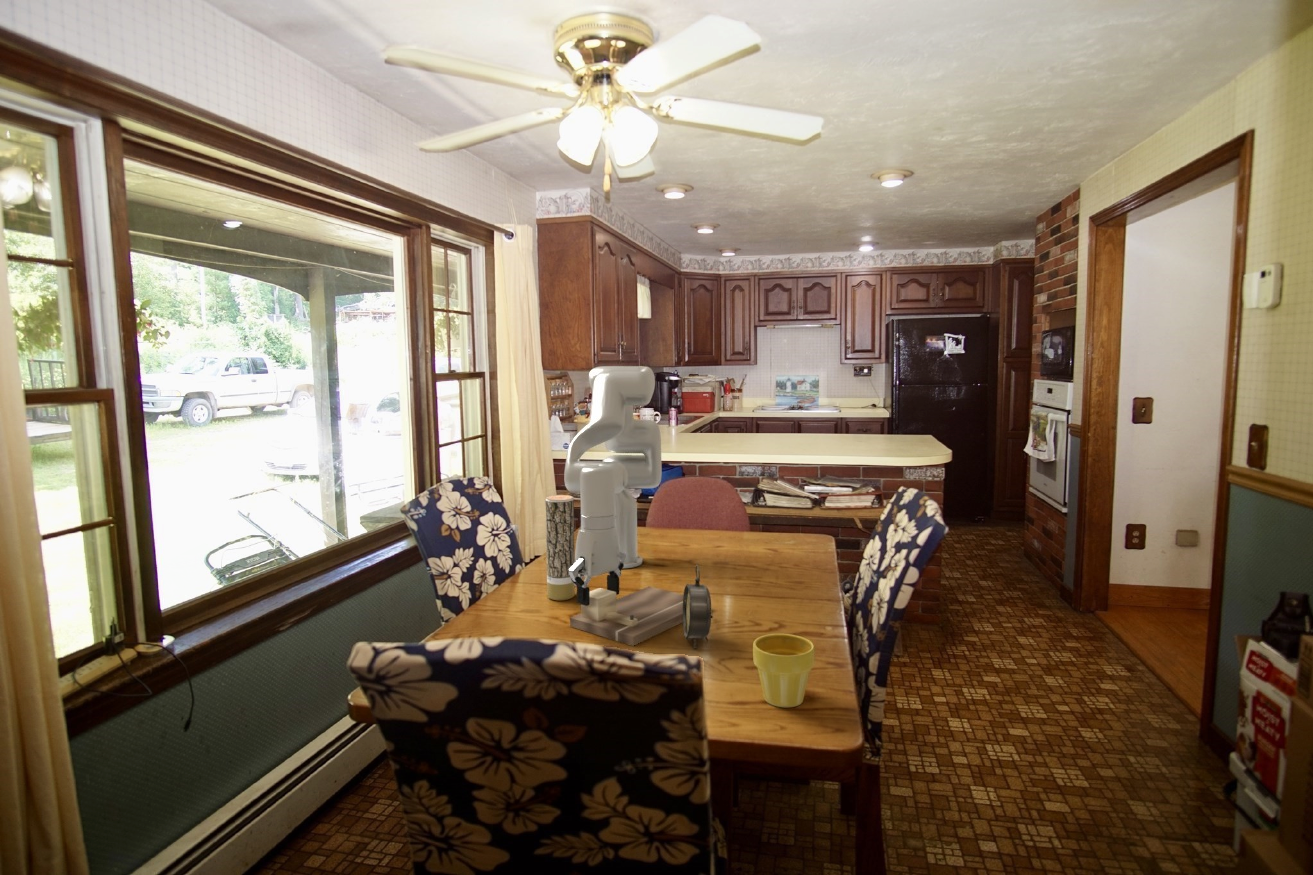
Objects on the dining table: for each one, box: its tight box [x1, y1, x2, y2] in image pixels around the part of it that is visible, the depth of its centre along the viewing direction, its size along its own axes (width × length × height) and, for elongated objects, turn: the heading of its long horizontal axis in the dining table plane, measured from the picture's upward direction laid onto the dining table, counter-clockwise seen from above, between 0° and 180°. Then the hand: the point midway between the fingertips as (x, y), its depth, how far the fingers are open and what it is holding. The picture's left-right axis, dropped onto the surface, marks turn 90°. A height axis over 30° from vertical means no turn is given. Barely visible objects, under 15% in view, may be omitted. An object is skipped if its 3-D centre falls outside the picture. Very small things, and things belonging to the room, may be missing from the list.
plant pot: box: [752, 633, 816, 709], centre depth 120 cm, size 10×10×10 cm
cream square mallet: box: [580, 587, 638, 627], centre depth 154 cm, size 13×6×5 cm, turn 52°
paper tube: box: [545, 494, 576, 601], centre depth 174 cm, size 7×7×25 cm
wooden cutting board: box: [569, 586, 684, 647], centre depth 160 cm, size 18×28×2 cm, turn 142°
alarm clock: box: [682, 564, 713, 651], centre depth 145 cm, size 11×5×16 cm, turn 5°
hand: (598, 598), depth 155 cm, fingers open, 9 cm apart
